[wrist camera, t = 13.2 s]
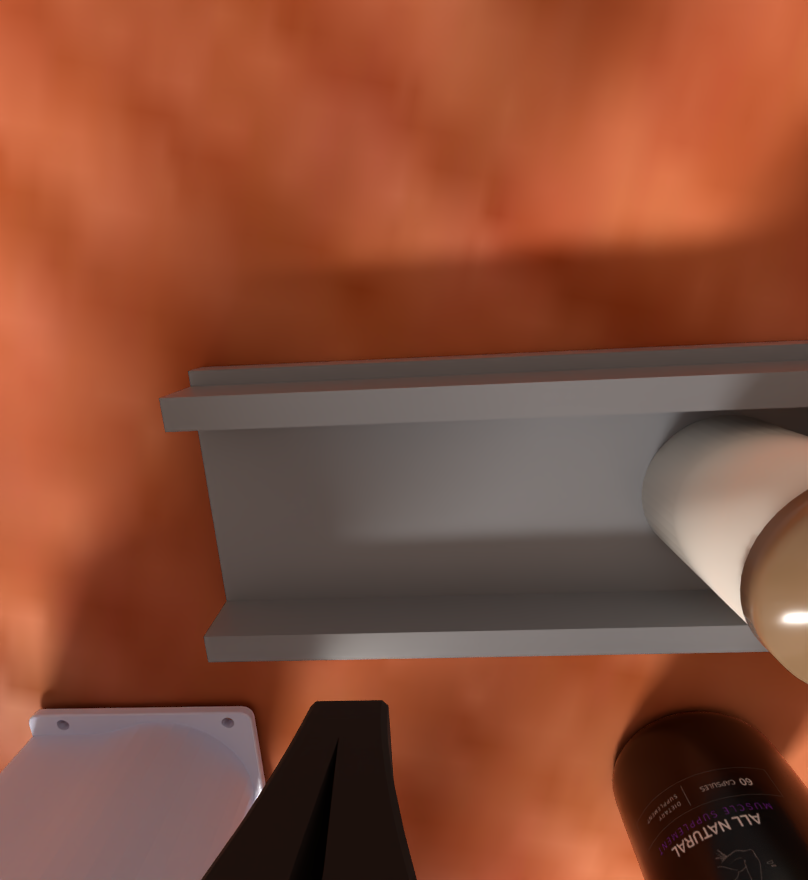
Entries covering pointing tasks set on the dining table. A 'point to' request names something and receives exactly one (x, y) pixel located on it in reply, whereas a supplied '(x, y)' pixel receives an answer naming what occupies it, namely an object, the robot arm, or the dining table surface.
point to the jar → (740, 522)
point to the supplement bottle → (711, 802)
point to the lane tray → (465, 500)
